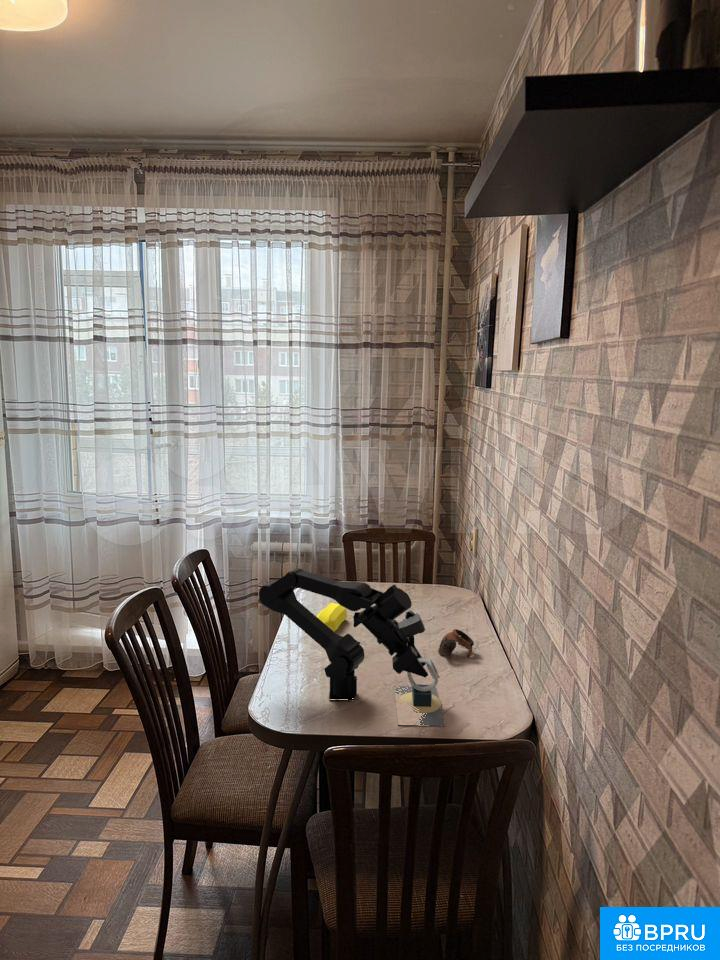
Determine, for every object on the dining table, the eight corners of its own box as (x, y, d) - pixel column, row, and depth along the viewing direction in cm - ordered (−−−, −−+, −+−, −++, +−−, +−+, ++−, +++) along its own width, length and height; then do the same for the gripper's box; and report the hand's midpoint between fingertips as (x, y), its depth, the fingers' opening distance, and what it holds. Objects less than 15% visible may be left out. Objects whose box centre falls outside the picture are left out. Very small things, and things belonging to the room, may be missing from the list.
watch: (438, 707, 162) (441, 664, 160) (406, 705, 162) (408, 663, 160) (436, 696, 167) (439, 655, 166) (405, 695, 167) (407, 654, 166)
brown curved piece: (442, 646, 201) (457, 625, 200) (466, 667, 197) (481, 645, 196) (427, 650, 191) (442, 627, 190) (452, 671, 186) (467, 648, 185)
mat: (398, 725, 153) (398, 724, 153) (393, 686, 173) (393, 685, 173) (447, 726, 153) (447, 724, 153) (437, 687, 173) (437, 685, 173)
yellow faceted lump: (349, 618, 223) (328, 616, 226) (350, 600, 223) (328, 597, 225) (333, 638, 206) (310, 635, 209) (333, 617, 205) (310, 615, 208)
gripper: (408, 619, 151) (454, 665, 153) (403, 593, 170) (444, 634, 171) (374, 651, 152) (420, 696, 154) (372, 622, 171) (413, 662, 172)
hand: (425, 670), depth 163 cm, fingers open, 6 cm apart
